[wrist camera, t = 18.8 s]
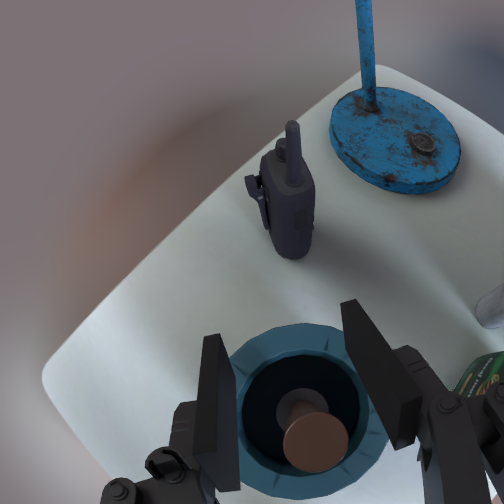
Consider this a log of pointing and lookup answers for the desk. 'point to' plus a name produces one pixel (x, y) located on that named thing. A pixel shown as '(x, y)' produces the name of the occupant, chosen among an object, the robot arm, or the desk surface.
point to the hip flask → (491, 309)
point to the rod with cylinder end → (310, 431)
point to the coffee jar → (481, 375)
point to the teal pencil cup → (291, 377)
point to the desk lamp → (391, 129)
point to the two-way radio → (285, 195)
